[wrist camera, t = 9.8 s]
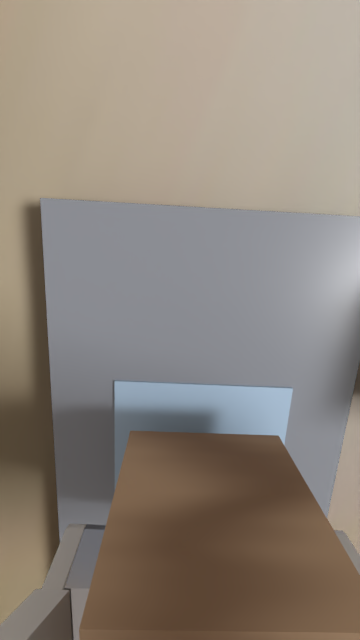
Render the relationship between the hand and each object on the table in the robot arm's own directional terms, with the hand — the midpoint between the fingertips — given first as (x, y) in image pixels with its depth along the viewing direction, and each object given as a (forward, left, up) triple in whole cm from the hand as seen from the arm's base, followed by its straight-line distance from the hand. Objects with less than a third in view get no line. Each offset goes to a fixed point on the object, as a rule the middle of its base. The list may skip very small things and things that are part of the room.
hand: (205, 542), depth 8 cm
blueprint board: (0, 0, -5) cm, 5 cm away
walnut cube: (0, 0, -2) cm, 2 cm away
